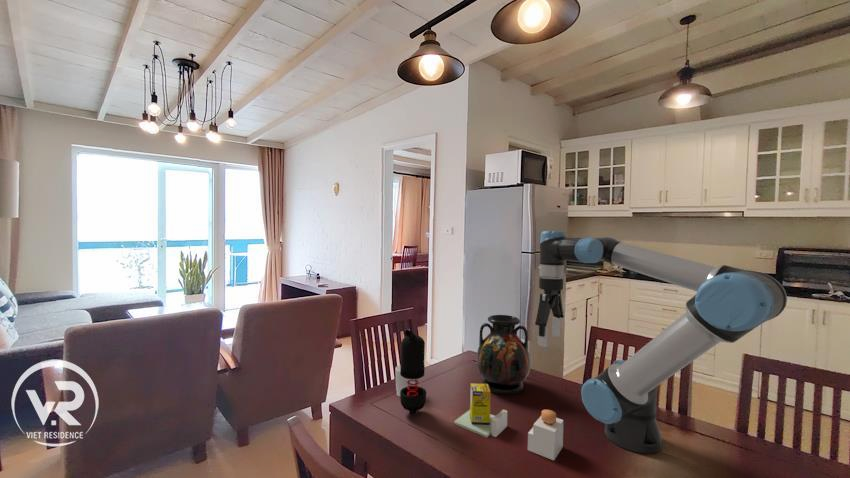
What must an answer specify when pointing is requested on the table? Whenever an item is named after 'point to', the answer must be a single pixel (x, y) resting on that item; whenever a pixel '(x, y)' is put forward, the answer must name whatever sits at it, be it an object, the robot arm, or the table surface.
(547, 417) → the brown egg
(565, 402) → the table surface
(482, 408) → the supplement box
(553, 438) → the dock
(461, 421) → the pad
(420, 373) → the filter
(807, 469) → the table surface
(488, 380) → the amphora vase
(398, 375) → the white cup
